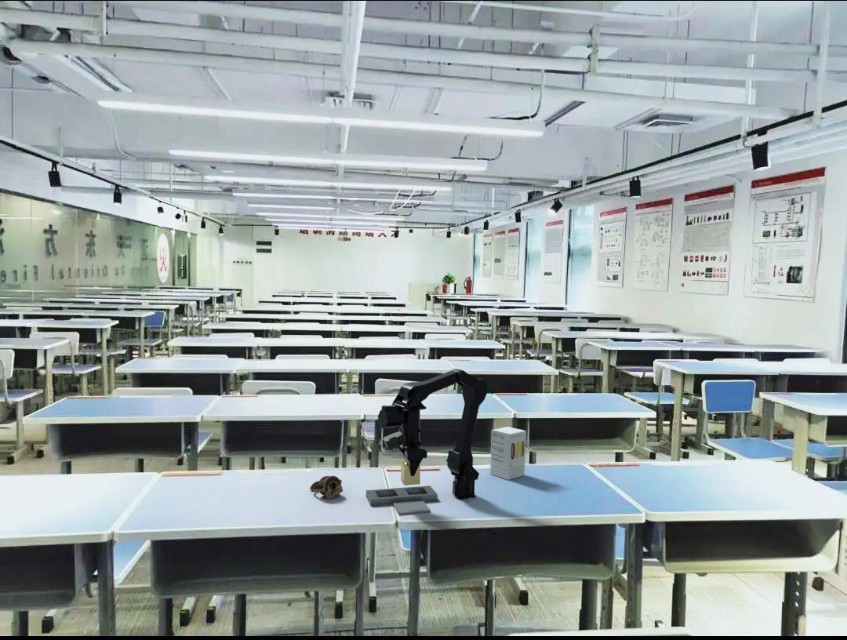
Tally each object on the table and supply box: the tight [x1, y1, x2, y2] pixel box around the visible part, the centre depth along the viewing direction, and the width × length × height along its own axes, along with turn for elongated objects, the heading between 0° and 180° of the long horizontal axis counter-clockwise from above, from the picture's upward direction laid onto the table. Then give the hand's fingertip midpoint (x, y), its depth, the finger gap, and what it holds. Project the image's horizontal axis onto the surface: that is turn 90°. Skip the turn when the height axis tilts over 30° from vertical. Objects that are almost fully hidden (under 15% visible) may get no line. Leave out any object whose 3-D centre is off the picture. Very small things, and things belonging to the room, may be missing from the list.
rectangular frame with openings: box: [365, 485, 439, 507], centre depth 206 cm, size 22×9×2 cm, turn 105°
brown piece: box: [309, 475, 344, 500], centre depth 209 cm, size 7×13×10 cm
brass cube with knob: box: [400, 458, 421, 486], centre depth 197 cm, size 5×5×8 cm
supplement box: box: [489, 426, 527, 481], centre depth 232 cm, size 10×9×17 cm
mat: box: [391, 500, 432, 516], centre depth 197 cm, size 10×10×1 cm
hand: (410, 473), depth 197 cm, fingers closed on brass cube with knob, 5 cm apart
